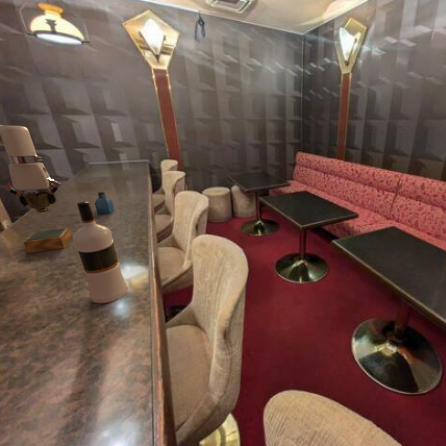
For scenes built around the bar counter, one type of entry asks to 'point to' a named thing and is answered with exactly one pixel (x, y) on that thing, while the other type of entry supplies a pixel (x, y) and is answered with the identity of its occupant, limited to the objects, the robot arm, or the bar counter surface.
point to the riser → (47, 240)
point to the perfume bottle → (103, 204)
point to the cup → (38, 200)
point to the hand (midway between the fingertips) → (40, 203)
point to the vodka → (98, 258)
